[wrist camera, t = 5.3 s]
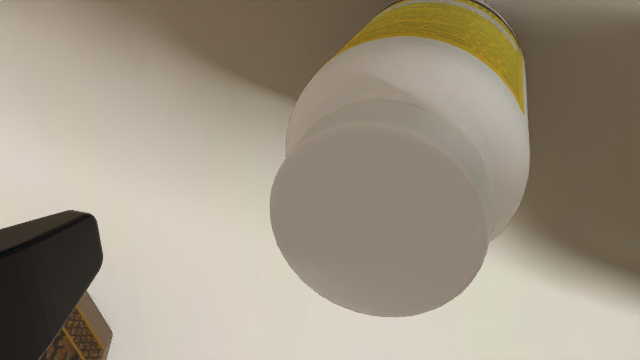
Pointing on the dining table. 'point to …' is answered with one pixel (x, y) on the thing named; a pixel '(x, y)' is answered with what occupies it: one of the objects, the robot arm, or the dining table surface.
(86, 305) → the ceramic cup
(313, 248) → the supplement bottle
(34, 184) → the dining table surface
